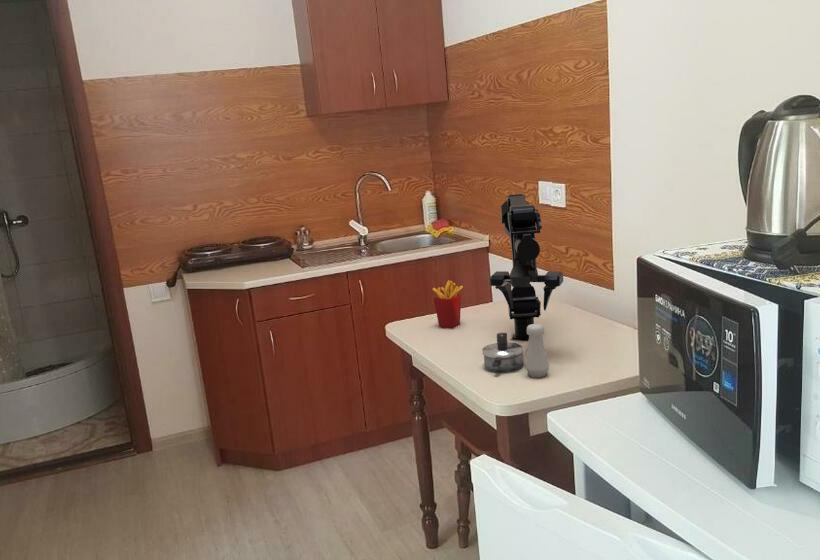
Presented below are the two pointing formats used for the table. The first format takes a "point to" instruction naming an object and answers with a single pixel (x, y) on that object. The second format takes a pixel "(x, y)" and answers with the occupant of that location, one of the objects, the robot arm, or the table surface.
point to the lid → (502, 348)
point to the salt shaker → (536, 352)
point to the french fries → (448, 305)
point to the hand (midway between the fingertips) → (528, 309)
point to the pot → (503, 364)
